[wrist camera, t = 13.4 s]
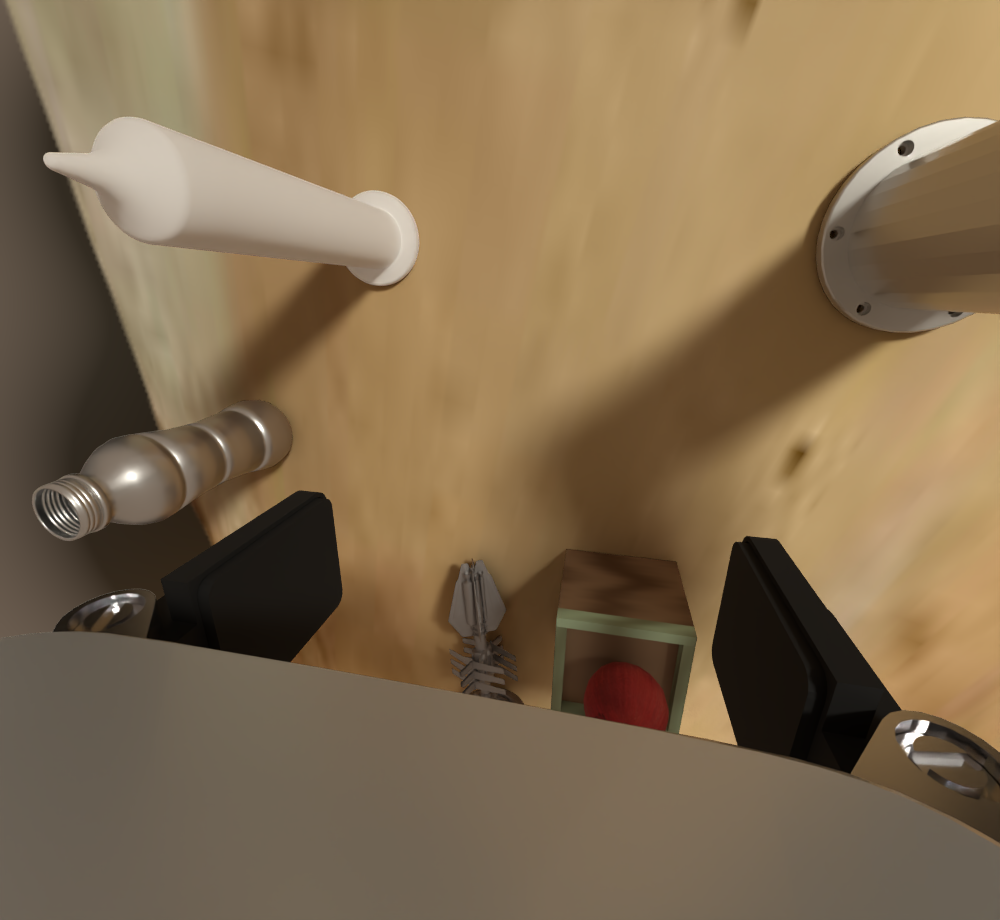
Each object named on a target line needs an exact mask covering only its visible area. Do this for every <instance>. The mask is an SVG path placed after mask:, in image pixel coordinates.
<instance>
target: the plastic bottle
mask: <svg viewBox="0 0 1000 920" xmlns="http://www.w3.org/2000/svg"><path fill="white" fill-rule="evenodd" d="M291 443H292V429H291V426H290V423H289V421H288V419H287V418H286V416H285V415H284V414H283V412H281V411H280V410H279V409H278V408H276V407H275V406H273V405H272V404H270V403H268V402H265V401H261V400H247V401H240V402H237V403H235V404H233V405H231V406H229V407H227V408H225V409H224V410H222V411H221V412H219V413H217V414H215V415H212V416H210V417H208V418H205V419H203V420H200V421H198V422H196V423H192V424H188V425H184V426H180V427H176V428H171V429H167V430H160V431H153V432H145V433H138V434H130V435H125V436H121V437H116V438H113V439H110V440H109V441H107V442H106V443H104V444H103V445H101V446H100V447H98V448H97V449H95V451H94V452H93V453H92V454H91V456H90V457H89V459H88V460H87V461H86V463H85V464H84V466H83V468H82V470H81V472H80V474H76V473H74V474H69V475H66V476H63V477H61V478H60V479H58V480H57V481H55V482H52V483H49V484H46V485H44V486H41V487H39V488H38V489H36V490H35V492H34V493H33V496H32V506H33V510H34V512H35V515H36V516H37V518H38V520H39V522H40V523H41V524H42V525H43V527H44V528H45V529H46V530H47V531H48V532H50V533H51V534H52V535H54V536H55V537H57V538H60V539H62V540H66V541H72V540H75V539H79V538H80V537H83V536H84V535H87V534H89V533H91V532H96V531H99V530H101V529H103V528H105V527H107V526H108V524H109V523H110V522H115V523H120V524H136V525H144V524H149V523H155V522H159V521H162V520H164V519H166V518H168V517H169V516H171V515H173V514H175V513H176V512H177V511H179V510H180V509H182V508H183V507H184V506H186V505H187V504H189V503H190V502H192V501H193V500H194V499H196V498H197V497H199V496H200V495H202V494H203V493H205V492H207V491H208V490H210V489H212V488H214V487H216V486H217V485H219V484H221V483H223V482H225V481H227V480H229V479H232V478H235V477H238V476H240V475H243V474H246V473H249V472H254V471H259V470H262V469H266V468H269V467H272V466H274V465H276V464H277V463H278V462H279V461H280V460H282V459H283V458H284V457H285V456H286V455H287V454H288V452H289V450H290V448H291Z"/></svg>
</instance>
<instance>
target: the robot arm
mask: <svg viewBox="0 0 1000 920" xmlns="http://www.w3.org/2000/svg"><path fill="white" fill-rule="evenodd" d="M898 148H900V149H901V150H902V153H901V155H899V154H898ZM831 231H834V233H835V236H834V238H832V239H831V238H830V232H831ZM816 264H817V271H818V277H819V280H820V282H821V285H822V288H823V291H824V293H825V294H826V296H827V297H828V299H829V300H830V302H831V303H832V305H833V306H834V307H835V308H837V309H838V310H839V311H840V312H841V313H842V314H843V315H844V316H845V317H847V318H849V319H851V320H852V321H854V322H856V323H858V324H859V325H862V326H866V327H869V328H872V329H875V330H881V331H888V332H904V333H913V332H920V331H927V330H933V329H936V328H940V327H943V326H946V325H950V324H953V323H955V322H957V321H959V320H962V319H964V318H966V317H968V316H970V315H972V314H974V313H990V314H1000V120H999V121H997V120H994V119H990V118H980V117H960V118H953V119H946V120H941V121H938V122H934V123H931V124H928V125H925V126H922V127H919V128H917V129H915V130H913V131H911V132H909V133H906V134H904V135H902V136H900V137H898V138H897V139H895V140H893V141H892V142H890V143H889V144H887V145H885V146H884V147H882V148H880V149H879V150H877V151H876V152H875V153H874V154H872V155H871V156H870V157H869V158H868V159H866V160H865V161H864V162H863V163H862V164H860V165H859V166H858V167H857V169H856V170H855V171H854V172H853V173H852V174H851V175H850V176H849V177H848V178H847V180H846V181H845V182H844V183H843V184H842V186H841V187H840V189H839V190H838V192H837V193H836V195H835V196H834V198H833V199H832V201H831V203H830V205H829V207H828V210H827V212H826V214H825V216H824V218H823V220H822V224H821V228H820V231H819V235H818V239H817V250H816ZM858 305H860V306H861V309H860V311H859V312H857V307H858ZM948 311H950V312H949V313H948ZM161 583H162V585H163V590H164V593H165V595H164V596H163V597H162V598H160V599H159V600H156V597H155V595H154V594H153V593H152V592H150V591H148V590H144V589H126V590H120V591H115V592H112V593H108V594H104V595H101V596H99V597H96V598H94V599H91V600H89V601H86V602H84V603H83V604H81V605H79V606H77V607H75V608H74V609H72V610H71V611H70V612H68V613H67V614H66V615H64V616H63V617H62V618H61V620H60V621H59V622H58V623H57V625H56V626H55V629H54V630H53V632H45V633H33V634H26V635H19V636H11V637H5V638H0V920H1000V752H998V751H997V750H996V749H994V748H993V747H992V746H991V745H989V744H988V743H987V742H985V741H984V740H982V739H981V738H979V737H977V736H976V735H974V734H972V733H971V732H969V731H967V730H966V729H964V728H962V727H960V726H958V725H956V724H953V723H951V722H949V721H947V720H944V719H942V718H939V717H936V716H933V715H929V714H926V713H922V712H916V711H906V710H901V709H900V707H899V706H898V704H897V703H896V702H895V700H894V699H893V697H892V696H891V695H890V693H889V692H888V690H887V689H886V688H885V686H884V685H883V683H882V682H881V681H880V679H879V678H878V677H877V675H876V674H875V672H874V671H873V670H872V668H871V667H870V665H869V664H868V663H867V661H866V660H865V658H864V657H863V656H862V654H861V653H860V651H859V650H858V649H857V647H856V646H855V644H854V643H853V642H852V640H851V639H850V638H849V636H848V635H847V633H846V632H845V631H844V629H843V628H842V626H841V625H840V624H839V622H838V621H837V619H836V618H835V617H834V615H833V614H832V613H831V612H830V611H829V610H828V609H827V608H826V607H825V605H824V604H823V603H822V601H821V600H820V598H819V597H818V596H817V594H816V593H815V591H814V590H813V589H812V587H811V586H810V584H809V583H808V582H807V580H806V579H805V577H804V576H803V575H802V573H801V572H800V570H799V569H798V568H797V566H796V565H795V563H794V562H793V560H792V559H791V558H790V556H789V555H788V553H787V552H786V551H785V549H784V548H783V546H782V545H781V544H780V542H779V541H778V540H777V539H770V538H760V537H750V536H746V537H745V538H744V540H743V542H735V543H734V545H733V547H732V551H731V556H730V561H729V566H728V571H727V576H726V581H725V586H724V590H723V595H722V600H721V605H720V610H719V615H718V620H717V624H716V629H715V634H714V639H713V644H712V660H713V664H714V668H715V671H716V674H717V678H718V681H719V684H720V688H721V691H722V694H723V698H724V701H725V704H726V708H727V711H728V714H729V718H730V721H731V725H732V728H733V731H734V735H735V738H736V741H737V745H738V746H737V745H732V744H728V743H723V742H719V741H714V740H709V739H704V738H699V737H694V736H688V735H683V734H678V733H672V732H667V731H662V730H656V729H651V728H646V727H641V726H635V725H630V724H625V723H619V722H614V721H609V720H603V719H598V718H593V717H587V716H582V715H577V714H571V713H566V712H561V711H555V710H550V709H545V708H539V707H534V706H528V705H523V704H518V703H512V702H507V701H501V700H496V699H491V698H485V697H480V696H474V695H469V694H464V693H458V692H453V691H447V690H442V689H436V688H431V687H425V686H420V685H414V684H409V683H403V682H398V681H392V680H387V679H381V678H375V677H370V676H364V675H358V674H353V673H347V672H342V671H336V670H330V669H325V668H319V667H314V666H308V665H302V664H296V663H291V661H292V660H293V658H294V657H295V656H296V655H297V654H298V653H299V651H300V650H301V649H302V648H303V647H304V645H305V644H306V643H307V642H308V641H309V640H310V638H311V637H312V636H313V635H314V634H315V633H316V631H317V630H318V629H319V628H320V627H321V625H322V624H323V623H324V622H325V621H326V620H327V618H328V617H329V616H330V615H331V614H332V612H333V611H334V610H335V609H336V608H337V607H338V605H339V603H340V601H341V598H342V583H341V575H340V567H339V558H338V550H337V542H336V534H335V526H334V518H333V510H332V504H331V502H330V500H329V499H326V497H325V495H324V494H323V493H319V492H309V491H297V492H295V493H294V494H292V495H291V496H289V497H287V498H286V499H284V500H283V501H281V502H280V503H278V504H277V505H275V506H274V507H272V508H270V509H269V510H267V511H266V512H264V513H263V514H261V515H260V516H258V517H256V518H255V519H253V520H252V521H250V522H249V523H247V524H246V525H244V526H243V527H241V528H239V529H238V530H236V531H235V532H233V533H232V534H230V535H229V536H227V537H225V538H224V539H222V540H221V541H219V542H218V543H216V544H215V545H213V546H211V547H210V548H208V549H207V550H205V551H204V552H202V553H201V554H199V555H198V556H196V557H194V558H193V559H191V560H190V561H189V562H187V563H185V564H184V565H182V566H180V567H179V568H177V569H176V570H174V571H173V572H171V573H170V574H168V575H167V576H165V577H164V578H162V579H161Z"/></svg>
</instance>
